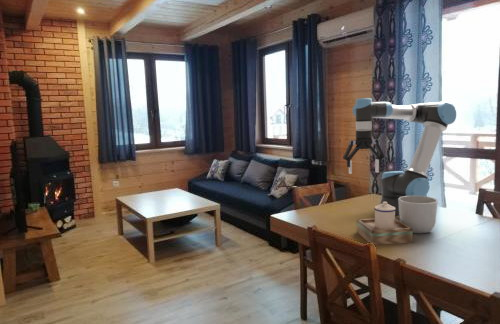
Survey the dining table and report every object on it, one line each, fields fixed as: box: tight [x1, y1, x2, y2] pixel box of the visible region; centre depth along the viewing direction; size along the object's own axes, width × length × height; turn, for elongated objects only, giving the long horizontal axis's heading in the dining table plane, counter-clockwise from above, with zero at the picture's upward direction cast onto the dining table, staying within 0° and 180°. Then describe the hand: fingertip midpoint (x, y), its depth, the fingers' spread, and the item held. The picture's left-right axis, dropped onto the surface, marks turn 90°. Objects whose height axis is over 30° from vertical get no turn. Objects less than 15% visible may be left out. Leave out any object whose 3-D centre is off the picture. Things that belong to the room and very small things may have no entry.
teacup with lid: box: [373, 202, 396, 229], centre depth 170 cm, size 12×9×12 cm
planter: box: [398, 196, 439, 234], centre depth 178 cm, size 17×17×15 cm
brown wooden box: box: [356, 217, 413, 246], centre depth 171 cm, size 18×18×6 cm
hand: (363, 173), depth 187 cm, fingers open, 13 cm apart
